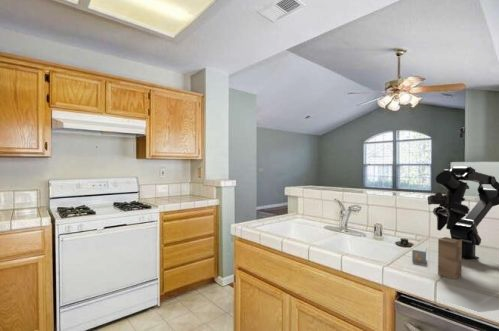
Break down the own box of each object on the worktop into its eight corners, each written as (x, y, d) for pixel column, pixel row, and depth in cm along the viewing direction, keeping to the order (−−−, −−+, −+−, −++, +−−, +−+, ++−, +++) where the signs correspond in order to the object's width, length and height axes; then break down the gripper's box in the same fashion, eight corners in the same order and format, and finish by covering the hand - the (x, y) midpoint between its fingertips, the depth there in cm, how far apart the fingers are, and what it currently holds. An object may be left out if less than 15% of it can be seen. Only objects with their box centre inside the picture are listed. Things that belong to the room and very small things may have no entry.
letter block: (413, 257, 112) (413, 246, 112) (426, 259, 109) (426, 248, 109) (412, 260, 108) (412, 249, 108) (425, 263, 105) (425, 252, 105)
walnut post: (445, 271, 98) (445, 237, 97) (461, 276, 93) (461, 240, 93) (438, 273, 95) (438, 239, 95) (454, 279, 91) (454, 242, 91)
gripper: (425, 191, 121) (414, 222, 119) (442, 182, 104) (429, 219, 102) (453, 200, 117) (442, 233, 115) (475, 193, 100) (462, 232, 98)
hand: (443, 229), depth 108 cm, fingers open, 9 cm apart
